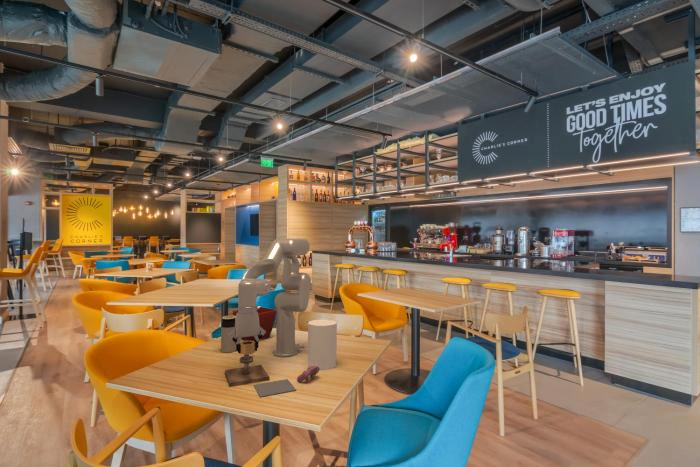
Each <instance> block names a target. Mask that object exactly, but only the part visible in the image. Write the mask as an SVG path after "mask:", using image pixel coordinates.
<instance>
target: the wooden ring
mask: <svg viewBox="0 0 700 467" xmlns="http://www.w3.org/2000/svg"><path fill="white" fill-rule="evenodd" d="M256 352H257V351H255V341H247V340H243V341H240V353H239V355H243V356H244V355H248V354H249V355H253V354H254V353H256Z"/></svg>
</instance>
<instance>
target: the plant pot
mask: <svg viewBox="0 0 700 467" xmlns="http://www.w3.org/2000/svg"><path fill="white" fill-rule="evenodd" d="M256 312H258V316H259V324H260V327H261V328H263V329H264V330H265V331H266V333H265V334H264V335H263V336H262V338H261V339H260V340H259V341H261V340H266V339H269V338H270V336H271V335H272V334H271V333H272V331H273V327H274V324H275V320H276V317H277V316H276V309H273V308H268V307H265V306H262V307H261V306H260V309H258V310H257V311H256ZM237 313H238V309H236V310H232V316H236V314H237ZM260 333H261V331H260ZM260 333H259V334H260ZM257 336H258V335H257ZM241 340H243V341H255V337H254V336H250V337H242V338H241Z"/></svg>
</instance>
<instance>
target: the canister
mask: <svg viewBox="0 0 700 467" xmlns="http://www.w3.org/2000/svg"><path fill="white" fill-rule="evenodd" d="M337 327H338V322H337V321H336V320H333V319H326V318H325V319H323V318H321V319H313V320H310V321H308V323H307V366H308V367H310V366H314V365H316V366H318V367H319V368H320V370H319V371H325V370H326V371H328V370H331V369H334V368H335V367H336V366H337V350H338V348H337V344H338V343H337V342H338V341H337V340H338V339H337V337H338V335H337V333H338V332H337V329H338V328H337ZM308 367H307V368H308Z"/></svg>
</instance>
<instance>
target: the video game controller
mask: <svg viewBox="0 0 700 467" xmlns="http://www.w3.org/2000/svg"><path fill="white" fill-rule="evenodd" d="M320 371H321V370H320V368H319V367H318V366H316V365H314V366H310V367H307V368H306V369H305V370H303V372H302V373H301V374H300V375H298V376H297V378H296V381H297V382H299V383H301V382H304V381H306V382H309V381H310V379H314V378H315V376H316V375H318V373H319V372H320Z"/></svg>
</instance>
